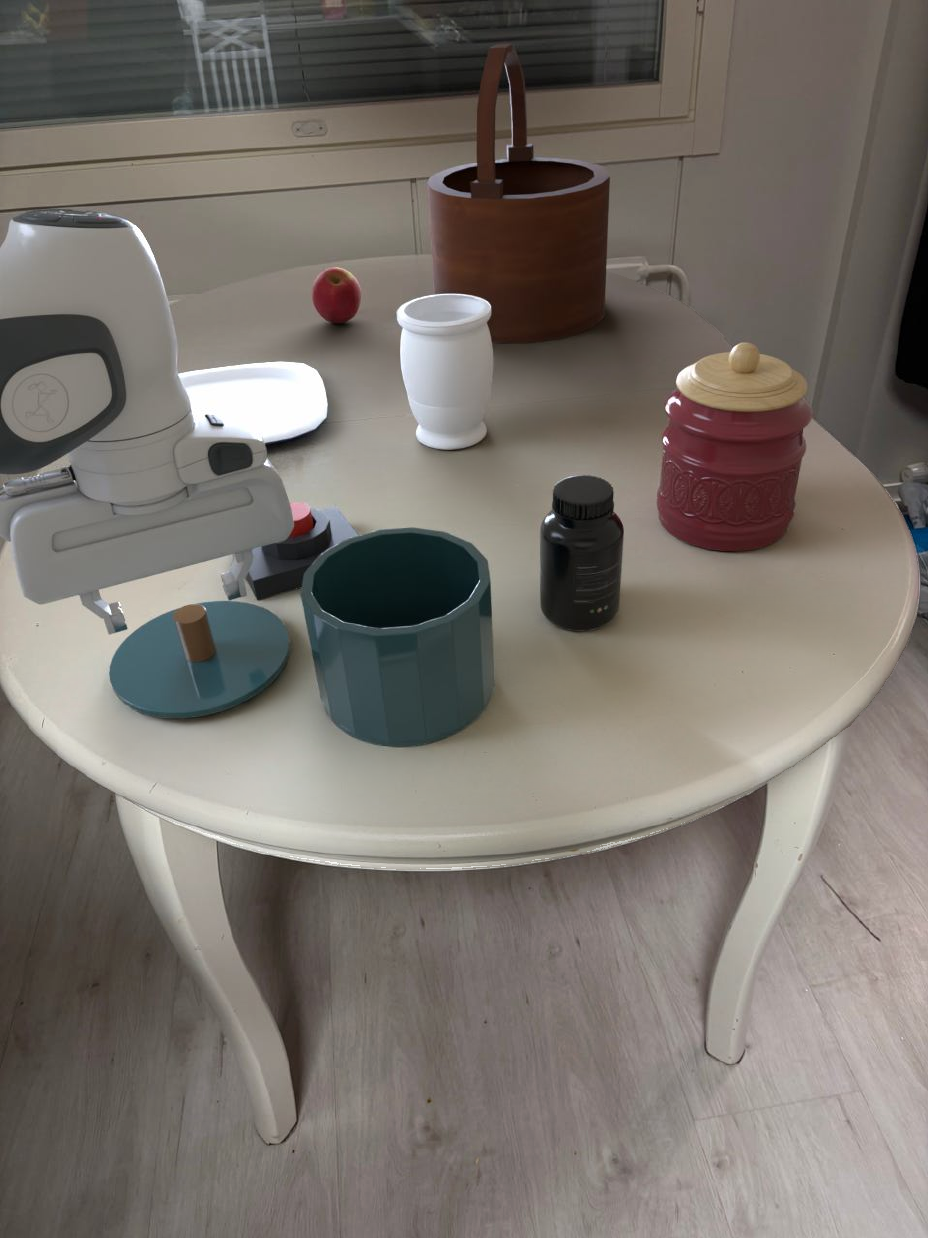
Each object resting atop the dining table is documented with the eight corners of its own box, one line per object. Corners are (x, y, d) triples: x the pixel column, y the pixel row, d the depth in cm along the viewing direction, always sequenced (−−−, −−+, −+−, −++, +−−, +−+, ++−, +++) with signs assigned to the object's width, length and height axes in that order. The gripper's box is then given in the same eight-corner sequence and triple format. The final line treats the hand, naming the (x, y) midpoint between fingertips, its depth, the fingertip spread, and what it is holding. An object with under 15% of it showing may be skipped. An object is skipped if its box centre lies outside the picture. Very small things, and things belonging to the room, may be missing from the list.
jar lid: (128, 748, 69) (109, 696, 66) (101, 642, 80) (83, 593, 77) (314, 686, 74) (304, 635, 71) (265, 594, 85) (254, 546, 82)
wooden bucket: (613, 287, 149) (624, 30, 128) (594, 346, 129) (604, 53, 108) (458, 283, 154) (444, 37, 133) (416, 340, 135) (393, 60, 114)
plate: (114, 475, 105) (110, 462, 104) (131, 389, 125) (128, 377, 124) (336, 445, 108) (334, 431, 107) (318, 366, 128) (317, 354, 127)
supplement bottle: (526, 599, 82) (525, 479, 75) (594, 579, 84) (599, 460, 77) (563, 643, 77) (565, 518, 69) (634, 620, 79) (643, 496, 71)
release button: (281, 541, 85) (278, 525, 84) (270, 524, 87) (267, 508, 86) (318, 531, 86) (315, 515, 85) (306, 514, 89) (303, 498, 88)
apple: (306, 329, 141) (298, 275, 136) (328, 311, 147) (320, 259, 142) (352, 332, 139) (346, 277, 134) (372, 313, 145) (366, 261, 140)
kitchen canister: (631, 504, 94) (642, 333, 84) (738, 476, 98) (762, 309, 87) (703, 568, 84) (726, 384, 74) (820, 534, 88) (858, 354, 77)
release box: (257, 600, 84) (248, 564, 81) (232, 553, 90) (224, 518, 88) (370, 567, 87) (365, 530, 85) (338, 524, 94) (333, 489, 92)
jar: (496, 454, 105) (491, 322, 96) (404, 457, 105) (392, 326, 96) (494, 414, 113) (491, 289, 104) (410, 417, 113) (399, 294, 104)
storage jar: (357, 771, 66) (338, 657, 60) (300, 664, 76) (278, 557, 70) (524, 709, 71) (523, 597, 64) (449, 615, 81) (442, 511, 74)
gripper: (-20, 507, 60) (44, 673, 68) (286, 438, 67) (310, 596, 75) (-25, 468, 64) (36, 627, 72) (261, 407, 71) (287, 559, 79)
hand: (177, 611), depth 74 cm, fingers open, 8 cm apart
